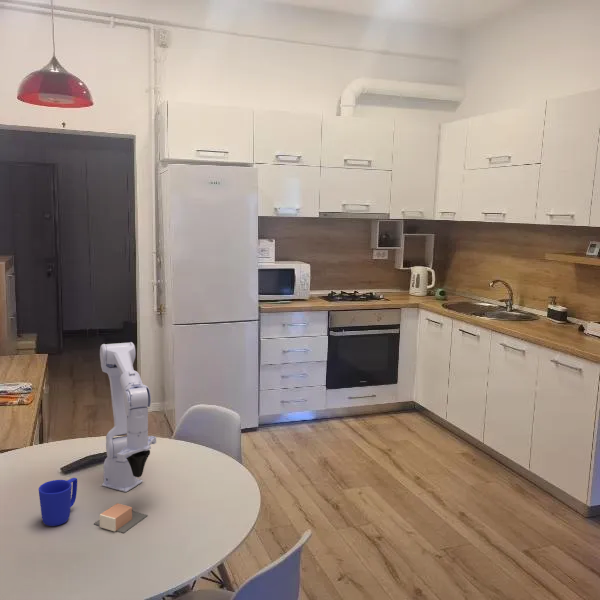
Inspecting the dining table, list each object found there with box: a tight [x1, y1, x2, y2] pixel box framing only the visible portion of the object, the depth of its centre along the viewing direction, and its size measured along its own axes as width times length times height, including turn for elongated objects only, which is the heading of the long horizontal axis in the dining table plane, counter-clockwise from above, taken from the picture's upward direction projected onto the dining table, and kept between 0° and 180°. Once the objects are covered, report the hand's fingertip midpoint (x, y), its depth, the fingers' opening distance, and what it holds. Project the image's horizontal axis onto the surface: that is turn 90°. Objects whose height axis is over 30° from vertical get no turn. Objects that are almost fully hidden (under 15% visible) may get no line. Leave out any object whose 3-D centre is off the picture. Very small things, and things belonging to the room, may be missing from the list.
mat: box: [93, 510, 148, 534], centre depth 160 cm, size 10×10×1 cm
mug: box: [38, 477, 78, 527], centre depth 159 cm, size 8×12×10 cm
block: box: [99, 502, 133, 532], centre depth 157 cm, size 5×4×7 cm
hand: (137, 475), depth 165 cm, fingers closed
